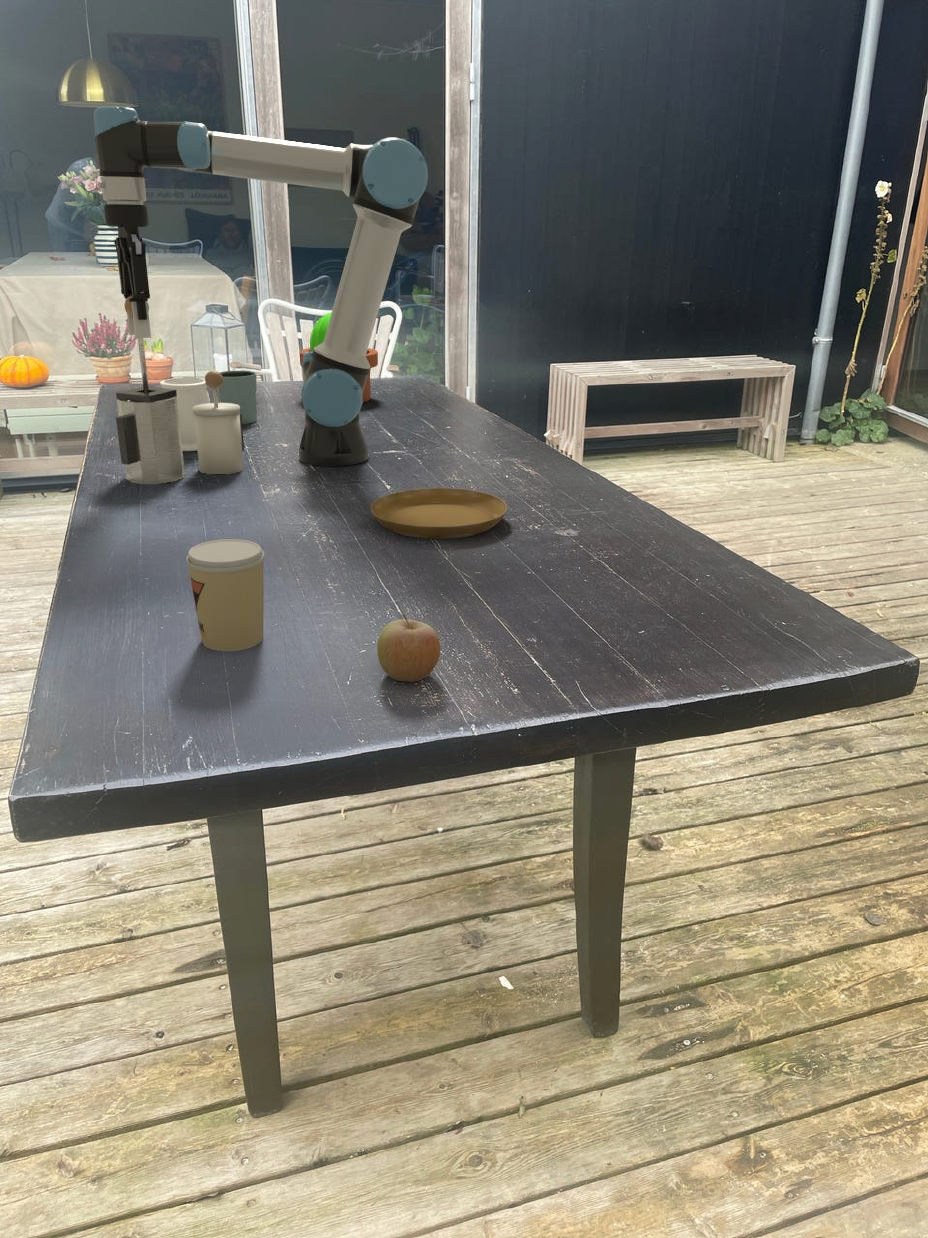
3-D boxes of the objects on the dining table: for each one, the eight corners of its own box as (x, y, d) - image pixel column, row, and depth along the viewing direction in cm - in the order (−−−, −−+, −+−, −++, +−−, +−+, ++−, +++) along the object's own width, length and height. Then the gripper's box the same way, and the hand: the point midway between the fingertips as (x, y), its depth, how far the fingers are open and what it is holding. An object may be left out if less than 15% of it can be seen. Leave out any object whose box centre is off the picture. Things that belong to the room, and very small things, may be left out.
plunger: (177, 405, 190) (166, 294, 181) (150, 411, 183) (137, 296, 175) (145, 401, 193) (133, 291, 184) (117, 408, 186) (103, 294, 178)
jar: (201, 454, 212) (195, 385, 206) (158, 451, 213) (151, 383, 208) (222, 444, 221) (216, 378, 215) (180, 441, 223) (174, 376, 217)
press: (195, 473, 196) (187, 389, 189) (150, 490, 184) (139, 400, 178) (152, 467, 200) (142, 384, 193) (105, 483, 188) (93, 395, 182)
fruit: (365, 683, 111) (364, 620, 108) (392, 658, 117) (391, 598, 114) (425, 695, 109) (426, 631, 105) (449, 669, 115) (450, 608, 112)
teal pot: (267, 420, 247) (264, 372, 242) (239, 426, 239) (235, 377, 234) (239, 415, 252) (235, 368, 247) (210, 421, 244) (206, 373, 239)
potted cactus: (303, 393, 284) (299, 305, 274) (377, 392, 286) (375, 305, 276) (300, 407, 264) (295, 312, 254) (379, 406, 266) (377, 313, 256)
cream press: (260, 464, 204) (253, 367, 196) (226, 477, 194) (218, 375, 186) (224, 459, 208) (216, 364, 200) (189, 471, 198) (179, 371, 190)
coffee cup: (201, 625, 126) (192, 538, 121) (273, 623, 126) (267, 537, 122) (188, 655, 117) (179, 563, 112) (265, 653, 118) (259, 562, 113)
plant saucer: (346, 533, 163) (345, 515, 162) (405, 498, 184) (405, 481, 182) (478, 552, 155) (478, 533, 154) (524, 513, 175) (525, 496, 174)
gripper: (93, 202, 178) (109, 331, 188) (114, 202, 165) (130, 342, 174) (134, 203, 182) (148, 330, 191) (158, 203, 168) (172, 340, 177)
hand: (140, 335), depth 182 cm, fingers closed on plunger, 4 cm apart
